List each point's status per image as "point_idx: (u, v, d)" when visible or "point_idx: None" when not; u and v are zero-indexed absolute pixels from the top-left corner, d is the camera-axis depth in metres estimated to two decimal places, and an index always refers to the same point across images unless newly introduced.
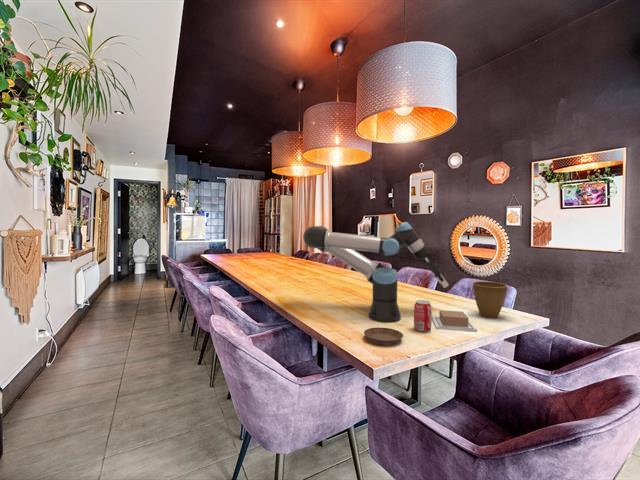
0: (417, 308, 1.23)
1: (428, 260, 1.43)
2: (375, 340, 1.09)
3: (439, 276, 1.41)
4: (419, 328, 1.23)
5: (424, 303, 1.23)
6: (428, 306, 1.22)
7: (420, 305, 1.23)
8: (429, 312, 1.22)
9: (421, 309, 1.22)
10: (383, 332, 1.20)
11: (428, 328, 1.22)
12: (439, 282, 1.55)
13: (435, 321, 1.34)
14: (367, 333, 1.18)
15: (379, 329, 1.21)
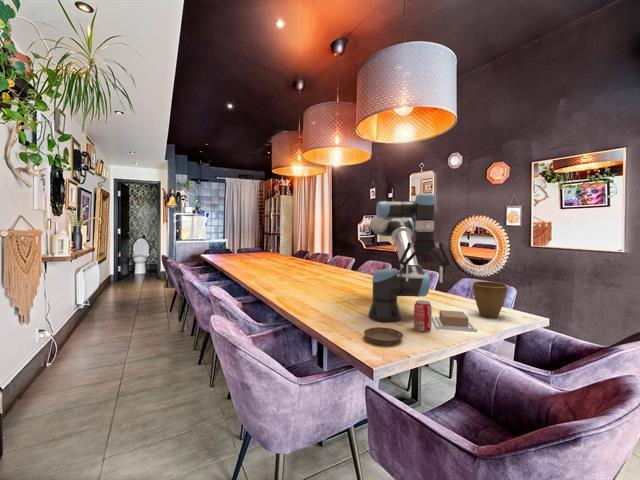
0: (417, 308, 1.23)
1: (407, 246, 1.25)
2: (375, 340, 1.09)
3: (403, 266, 1.26)
4: (419, 328, 1.23)
5: (424, 303, 1.23)
6: (428, 306, 1.22)
7: (420, 305, 1.23)
8: (429, 312, 1.22)
9: (421, 309, 1.22)
10: (383, 332, 1.20)
11: (428, 328, 1.22)
12: (439, 280, 1.25)
13: (435, 321, 1.34)
14: (367, 333, 1.18)
15: (379, 329, 1.21)
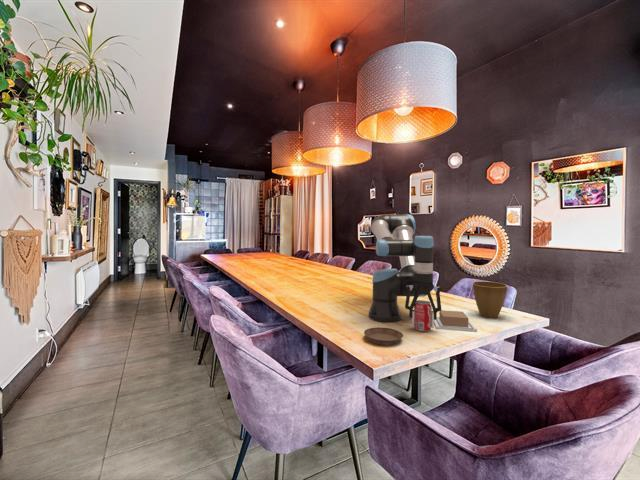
0: (417, 308, 1.23)
1: (407, 289, 1.26)
2: (375, 340, 1.09)
3: (409, 311, 1.26)
4: (419, 328, 1.23)
5: (424, 303, 1.23)
6: (428, 306, 1.22)
7: (420, 305, 1.23)
8: (429, 312, 1.22)
9: (421, 309, 1.22)
10: (383, 332, 1.20)
11: (428, 328, 1.22)
12: None
13: (435, 321, 1.34)
14: (367, 333, 1.18)
15: (379, 329, 1.21)
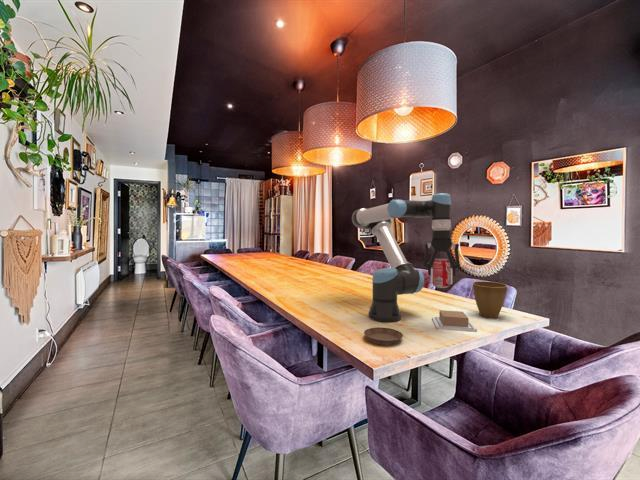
0: (435, 264, 1.25)
1: (425, 247, 1.29)
2: (375, 340, 1.09)
3: None
4: (437, 284, 1.25)
5: (442, 260, 1.25)
6: (446, 262, 1.24)
7: (438, 261, 1.25)
8: (448, 268, 1.24)
9: (439, 265, 1.24)
10: (383, 332, 1.20)
11: (447, 284, 1.24)
12: None
13: (435, 321, 1.34)
14: (367, 333, 1.18)
15: (379, 329, 1.21)
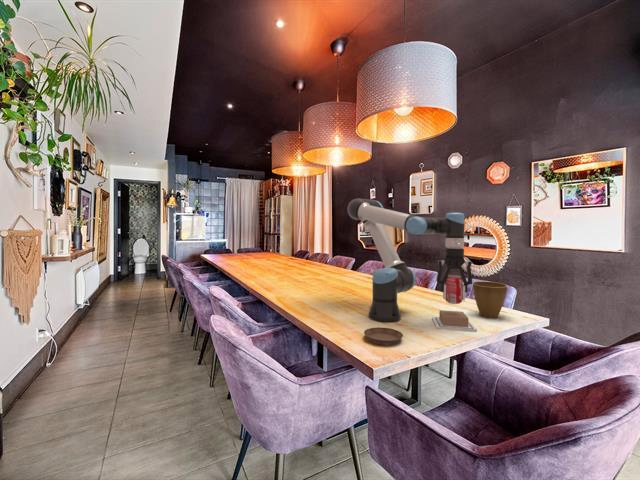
0: (449, 281, 1.29)
1: (438, 264, 1.32)
2: (375, 340, 1.09)
3: None
4: (451, 300, 1.29)
5: (455, 277, 1.29)
6: (460, 279, 1.28)
7: (452, 278, 1.29)
8: (461, 285, 1.28)
9: (453, 282, 1.28)
10: (383, 332, 1.20)
11: (460, 300, 1.28)
12: None
13: (435, 321, 1.34)
14: (367, 333, 1.18)
15: (379, 329, 1.21)
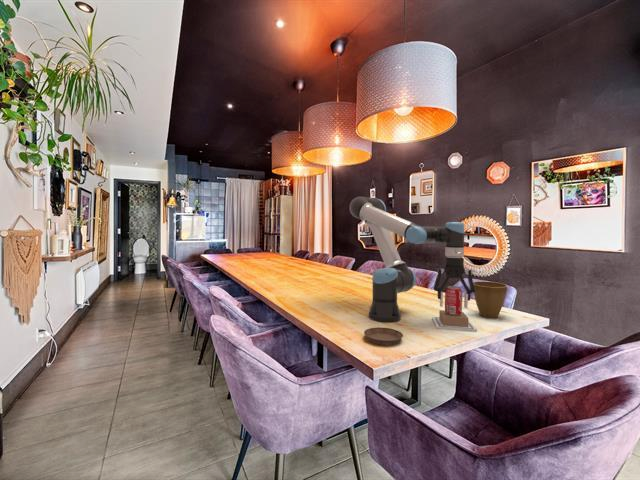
0: (449, 293, 1.29)
1: (438, 272, 1.32)
2: (375, 340, 1.09)
3: None
4: (450, 312, 1.29)
5: None
6: (459, 291, 1.28)
7: (452, 290, 1.29)
8: (461, 296, 1.28)
9: (453, 294, 1.28)
10: (383, 332, 1.20)
11: (459, 312, 1.28)
12: (464, 306, 1.32)
13: (435, 321, 1.34)
14: (367, 333, 1.18)
15: (379, 329, 1.21)
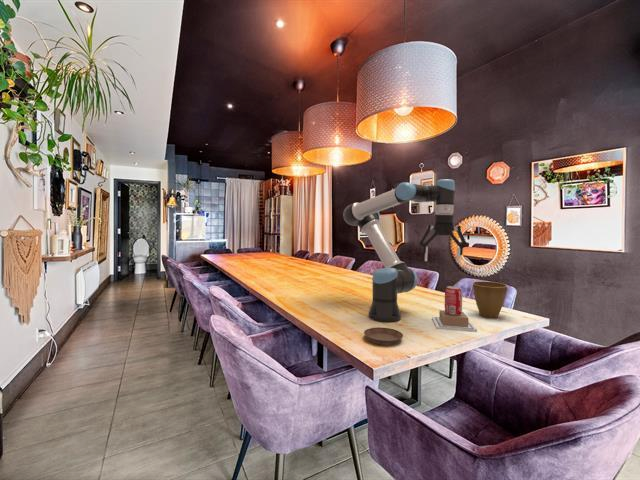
0: (448, 293, 1.29)
1: (427, 228, 1.34)
2: (375, 340, 1.09)
3: None
4: (450, 312, 1.29)
5: None
6: (459, 291, 1.28)
7: (451, 290, 1.29)
8: (460, 296, 1.28)
9: (452, 294, 1.28)
10: (383, 332, 1.20)
11: (459, 312, 1.28)
12: (456, 261, 1.33)
13: (435, 321, 1.34)
14: (367, 333, 1.18)
15: (379, 329, 1.21)
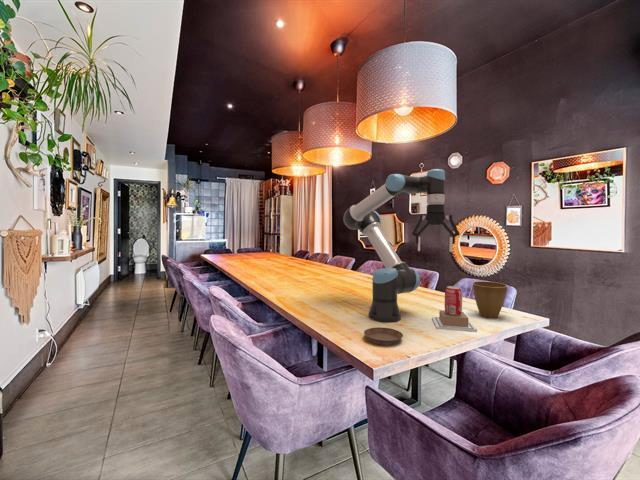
0: (448, 293, 1.29)
1: (419, 218, 1.35)
2: (375, 340, 1.09)
3: None
4: (450, 312, 1.29)
5: None
6: (459, 291, 1.28)
7: (451, 290, 1.29)
8: (460, 296, 1.28)
9: (452, 294, 1.28)
10: (383, 332, 1.20)
11: (459, 312, 1.28)
12: (449, 250, 1.34)
13: (435, 321, 1.34)
14: (367, 333, 1.18)
15: (379, 329, 1.21)
